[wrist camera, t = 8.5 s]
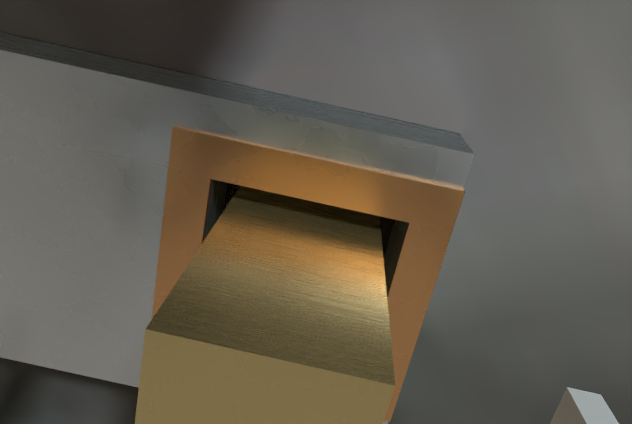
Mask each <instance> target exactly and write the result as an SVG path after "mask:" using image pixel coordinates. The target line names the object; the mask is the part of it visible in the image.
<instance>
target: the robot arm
mask: <svg viewBox="0 0 632 424" xmlns="http://www.w3.org/2000/svg"><path fill="white" fill-rule="evenodd" d="M550 424H619V423H618V422H617V420H616V418H615V417H614V415H613V414H612V412H611V410H610V409H609V407H608V405H607V404H606V402H605V401H604V399H603V397H602V396H601V395H600V394H595V393H591V392H586V391H582V390H577V389H573V388H568V387H567V388H566V391H565V393H564V395H563V397H562V399H561V401H560V403H559V406H558V408H557V410H556V412H555V414H554V416H553V418H552V421H551V423H550Z"/></svg>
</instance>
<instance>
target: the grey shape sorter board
mask: <svg viewBox="0 0 632 424" xmlns="http://www.w3.org/2000/svg"><path fill="white" fill-rule="evenodd" d="M474 157H475V154H474V152H473V151H472V150H471V148H470V147H469V146H468V144H467V143H466V142H465V140H464V139H463V138H462V137H461V135H460V134H459V133H455V132H450V131H446V130H441V129H436V128H432V127H427V126H423V125H418V124H414V123H409V122H405V121H400V120H396V119H391V118H387V117H382V116H377V115H373V114H368V113H364V112H359V111H355V110H350V109H346V108H341V107H337V106H332V105H328V104H323V103H318V102H314V101H309V100H305V99H300V98H296V97H291V96H287V95H282V94H278V93H273V92H269V91H264V90H259V89H255V88H250V87H246V86H241V85H237V84H232V83H228V82H223V81H219V80H214V79H209V78H205V77H200V76H196V75H191V74H187V73H182V72H178V71H173V70H169V69H164V68H160V67H155V66H150V65H146V64H141V63H137V62H132V61H128V60H123V59H119V58H114V57H110V56H105V55H101V54H96V53H91V52H87V51H82V50H78V49H73V48H69V47H64V46H60V45H55V44H51V43H46V42H42V41H37V40H32V39H28V38H23V37H19V36H14V35H10V34H5V33H1V32H0V357H1V358H6V359H10V360H15V361H19V362H24V363H29V364H33V365H38V366H42V367H47V368H51V369H56V370H61V371H65V372H70V373H74V374H79V375H83V376H88V377H93V378H97V379H102V380H106V381H111V382H115V383H120V384H125V385H129V386H134V387H138V388H139V381H140V372H141V364H142V355H143V346H144V337H145V329H146V328H147V326H148V325H149V323H150V321H151V320H152V318H153V317H154V315H155V314H156V312H157V311H158V309H159V308H160V306H161V305H162V303H163V302H164V300H165V299H166V297H167V296H168V294H169V293H170V291H171V290H172V288H173V287H174V285H175V284H176V282H177V281H178V279H179V278H180V276H181V275H182V273H183V272H184V270H185V269H186V267H187V266H188V264H189V263H190V261H191V260H192V258H193V256H194V255H195V253H196V252H197V250H198V249H199V247H200V246H201V244H202V243H203V241H204V240H205V238H206V237H207V235H208V234H209V232H210V231H211V229H212V228H213V226H214V225H215V223H216V222H217V220H218V219H219V217H220V216H221V214H222V213H223V211H224V204H225V198H226V191H227V185H228V183H231V184H235V185H240V186H245V187H249V188H254V189H258V190H263V191H267V192H272V193H276V194H281V195H286V196H290V197H295V198H299V199H304V200H308V201H313V202H317V203H322V204H326V205H331V206H336V207H340V208H345V209H349V210H354V211H358V212H363V213H367V214H372V215H376V216H381V217H386V218H390V219H394V223H393V227H392V230H391V234H390V237H389V241H388V244H387V248H386V252H385V255H384V268H385V279H386V290H387V301H388V311H389V322H390V333H391V344H392V355H393V365H394V376H395V388H394V391H393V394H392V397H391V400H390V403H389V406H388V409H387V412H386V415H385V418H384V421H383V424H388V422H390V421H391V418H392V415H393V412H394V409H395V406H396V402H397V399H398V396H399V393H400V390H401V387H402V384H403V381H404V378H405V375H406V372H407V369H408V366H409V363H410V360H411V356H412V353H413V350H414V347H415V344H416V341H417V338H418V335H419V332H420V329H421V326H422V323H423V320H424V317H425V314H426V310H427V307H428V304H429V301H430V298H431V295H432V292H433V289H434V286H435V283H436V280H437V277H438V274H439V271H440V268H441V264H442V261H443V258H444V255H445V252H446V249H447V246H448V243H449V240H450V237H451V234H452V231H453V228H454V225H455V222H456V218H457V215H458V212H459V209H460V206H461V203H462V200H463V197H464V194H465V191H464V187H465V184H466V181H467V178H468V175H469V172H470V169H471V166H472V163H473V160H474Z"/></svg>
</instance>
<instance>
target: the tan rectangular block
mask: <svg viewBox="0 0 632 424" xmlns="http://www.w3.org/2000/svg"><path fill="white" fill-rule="evenodd" d="M394 388H395V376H394V365H393V355H392V344H391V333H390V322H389V311H388V301H387V290H386V279H385V268H384V257H383V246H382V236H381V225H380V216H376V215H372V214H367V213H363V212H358V211H354V210H349V209H345V208H340V207H336V206H331V205H326V204H322V203H317V202H313V201H308V200H304V199H299V198H295V197H290V196H286V195H281V194H276V193H272V192H267V191H263V190H258V189H254V188H249V187H245V186H240V187H239V188H238V190H237V191H236V193H235V195H234V196H233V198H232V199H231V201H230V202H229V204H228V205H227V207H226V208H225V210H224V211H223V213H222V214H221V216H220V217H219V219H218V220H217V222H216V223H215V225H214V226H213V228H212V229H211V231H210V232H209V234H208V235H207V237H206V238H205V240H204V241H203V243H202V244H201V246H200V247H199V249H198V250H197V252H196V253H195V255H194V256H193V258H192V260H191V261H190V263H189V264H188V266H187V267H186V269H185V270H184V272H183V273H182V275H181V276H180V278H179V279H178V281H177V282H176V284H175V285H174V287H173V288H172V290H171V291H170V293H169V294H168V296H167V297H166V299H165V300H164V302H163V303H162V305H161V306H160V308H159V309H158V311H157V312H156V314H155V315H154V317H153V318H152V320H151V321H150V323H149V325H148V326H147V328H146V329H145V337H144V346H143V355H142V364H141V372H140V381H139V390H138V399H137V408H136V416H135V424H383V421H384V418H385V415H386V412H387V409H388V406H389V403H390V400H391V397H392V394H393V391H394Z"/></svg>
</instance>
